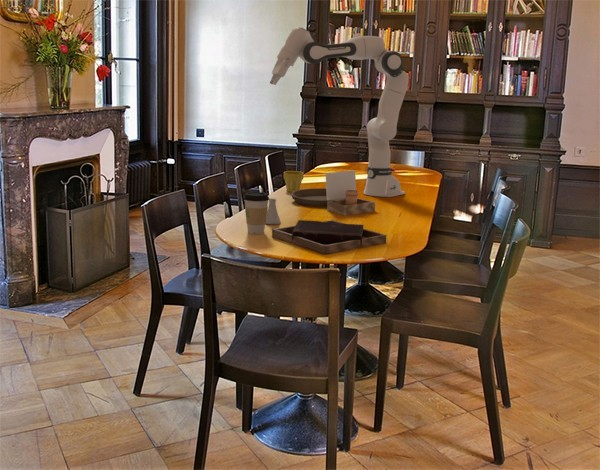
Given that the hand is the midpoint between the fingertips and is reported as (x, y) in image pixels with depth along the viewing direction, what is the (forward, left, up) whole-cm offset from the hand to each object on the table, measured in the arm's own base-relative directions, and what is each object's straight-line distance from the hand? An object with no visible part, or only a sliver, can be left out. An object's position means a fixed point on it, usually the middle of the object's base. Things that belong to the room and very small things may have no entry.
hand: (272, 84), depth 323 cm
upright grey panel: (-6, +46, -43) cm, 63 cm away
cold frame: (-6, +51, -54) cm, 75 cm away
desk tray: (+37, +87, -54) cm, 109 cm away
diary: (+37, +87, -54) cm, 109 cm away
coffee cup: (+53, +63, -55) cm, 99 cm away
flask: (+38, +53, -55) cm, 85 cm away
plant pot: (-17, -3, -55) cm, 57 cm away
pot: (-6, +53, -54) cm, 76 cm away
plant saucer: (-10, +29, -55) cm, 63 cm away
